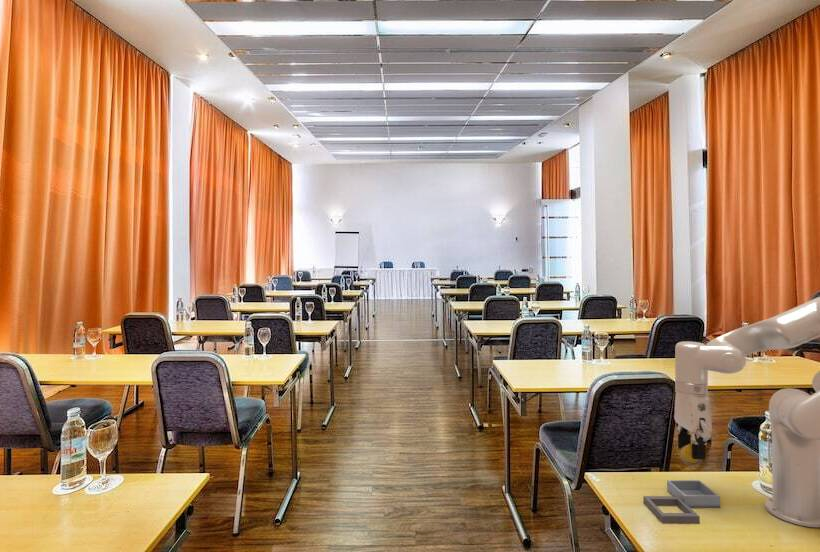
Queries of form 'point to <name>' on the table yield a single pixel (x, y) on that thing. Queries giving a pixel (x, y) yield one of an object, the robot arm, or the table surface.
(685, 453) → the grooved yellow cone
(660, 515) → the holder panel
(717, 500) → the parts tray
